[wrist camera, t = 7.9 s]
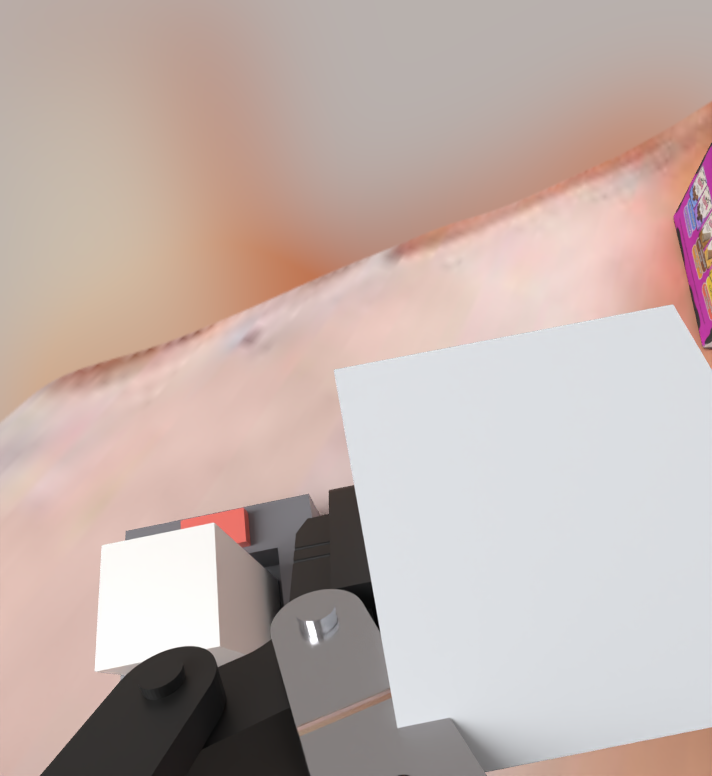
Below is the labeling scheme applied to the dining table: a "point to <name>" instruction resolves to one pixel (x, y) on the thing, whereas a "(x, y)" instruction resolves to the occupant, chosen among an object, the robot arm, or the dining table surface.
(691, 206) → the candy bar box
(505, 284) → the dining table surface
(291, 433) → the dining table surface
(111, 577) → the power strip
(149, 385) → the dining table surface
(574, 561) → the plug
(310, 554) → the robot arm
